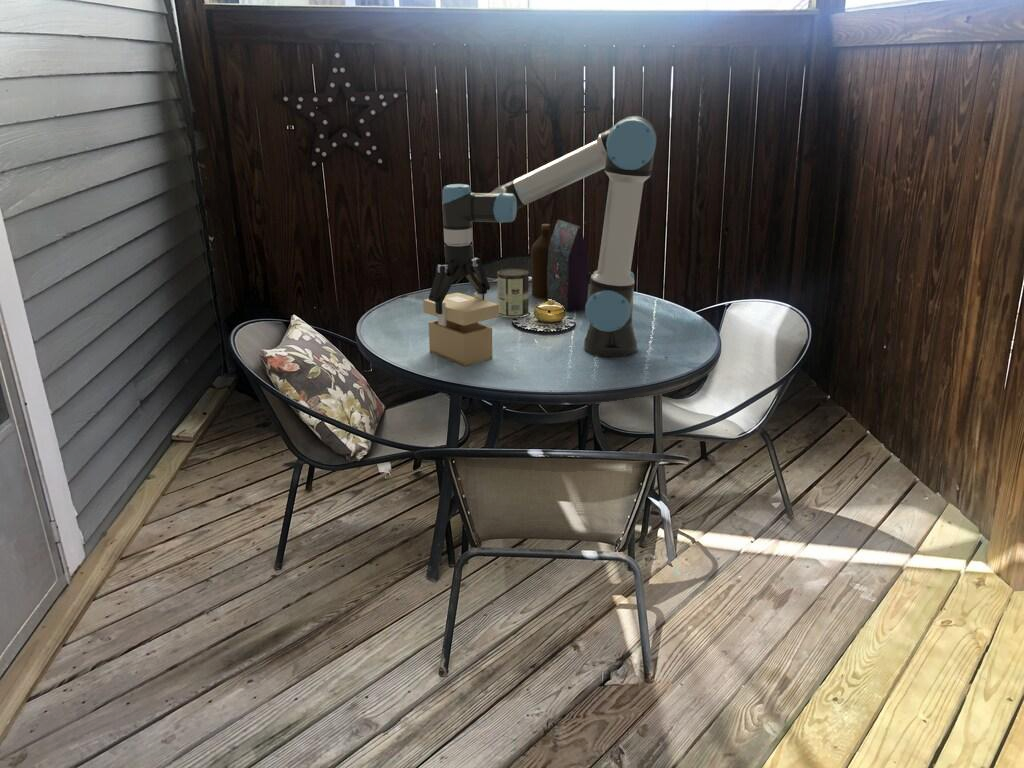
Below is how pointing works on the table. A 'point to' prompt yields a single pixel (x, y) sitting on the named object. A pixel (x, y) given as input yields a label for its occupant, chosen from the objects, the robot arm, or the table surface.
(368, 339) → the table surface
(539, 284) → the olive oil
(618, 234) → the robot arm
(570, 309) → the decorative box
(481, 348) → the kraft box
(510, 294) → the coffee can
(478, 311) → the lid
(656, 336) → the table surface
